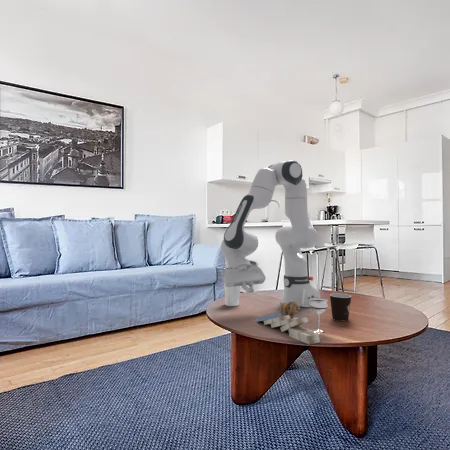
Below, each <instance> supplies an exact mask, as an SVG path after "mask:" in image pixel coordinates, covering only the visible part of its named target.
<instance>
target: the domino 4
mask: <svg viewBox="0 0 450 450" xmlns="http://www.w3.org/2000/svg"><path fill="white" fill-rule="evenodd" d="M307 323H309V319H308V317H307V316H305V317H302V318H301V317H298V319H296V320H294V321H292V322H290V323H288V324H286V325H283V326H280V327H279V328H280V332H281V333H285V332H289V328H292V327H297V326H300V327H302V325H304V324H307Z"/></svg>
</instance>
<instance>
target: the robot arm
mask: <svg viewBox="0 0 450 450" xmlns="http://www.w3.org/2000/svg"><path fill="white" fill-rule="evenodd" d="M302 168H303V167H302V165H301V163H299V161H297V160H293V159H291V160H290V159H289V160H283V161H279V162H277V163H274V164H271V165H269V166H268V167H262V168H260V169H259V170H258V171H257V173H256V174H255V176H254V177H253V178H254V179H253V180H252V183H251V186H250V189H249V191H248V193H247V194H246V195H244V196H242V197H243V198H242V199H241V200H240V202H239V204H238V206H237V209H236V211H235V213H234V215H233V217H232V220H231V222H230V224H229V225H228V227H227V228H226V230H225V231H224V234H223V240H222V241H221V244H220V248H221V253H222V255H223V258H224V260H225V261H226V263H227V266H228V267H226V268H225V267H223V268H221V269H220V272H219V273H220V275H221V276H222V280H223V285H224V284H225V286H226V287H235V286H240V288H241V289H243V290H245V292H246V294H252V293H254V292H255V290H254V285H262V284H263V283H265V281H266V275H265V273H264V271H263V270H262V268H260V266H259V264H258V262H257V261H255V260H251V259H249V258H247V257H248V256H250V255H252V254H253V253H254V252H255V251H256V250H257V249H258V246H259V239H258V237H257V236H256V235H255V234H253V233H251V232H249V231H247V230H245V229H244V227H245V224H246V222H247V220H248V217H249V215H250V214H251V212H252V211H254V210H257V209H258V210H259V209H264V208H266V207H267V206H269V205H270V203H271V201H272V199H273V196H274V191H275V190H276V187H277V186H283V188H284V190H285V191H284V215H285V216H286V217H287V218H288V219H289V221H290V225H286V226H282V227H280V228H278V229H277V230H276V232H275V235H274V237H275V241H276V243H277V244H278V246H279V247H280V249H281V251H282V254H283V259H284V275H283V294H282V299H281V301H280V303H281V304H282V303H284V302H285V303H287V304H288V303H289V302H292V301H293V302H296V304H297V305H298V306H299V307H300V308H301V307H302V308H310V301H311V300H310V298H315V297H318V298H321V293H320V290H319V289H317V288H316V287H315V286H314V285H313V284H312V283H311V282H310V281H314V279H315V278H314V276H310V275H308V260H307V258H306V257H305V256H304V255H303V253H302V250H303V249H305V250H306V249H311V248H314V247H316V246H317V245H318V242H319V239H320V238H319V237H320V236H319V232H318V231H317V230H316V229H315V228H314V227H313V225H312V223H311V221H310V218H309V213H308V189H307V185H306V184H307V183H306V180H305V179H304V178H303V169H302ZM301 249H302V250H301Z"/></svg>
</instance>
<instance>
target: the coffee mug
mask: <svg viewBox="0 0 450 450" xmlns="http://www.w3.org/2000/svg"><path fill="white" fill-rule="evenodd" d="M329 299H330V307H331V318H333V319H335V320H334V321H336V320H348V321H349V316H350V311H351V301H352V295H350V294H347V293H331V294H329ZM333 319H332V320H333Z"/></svg>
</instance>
